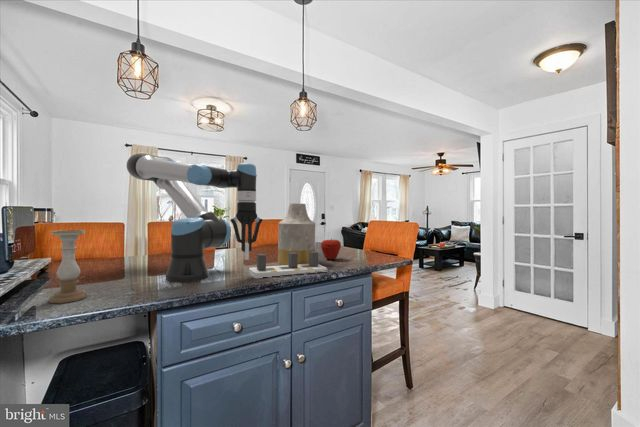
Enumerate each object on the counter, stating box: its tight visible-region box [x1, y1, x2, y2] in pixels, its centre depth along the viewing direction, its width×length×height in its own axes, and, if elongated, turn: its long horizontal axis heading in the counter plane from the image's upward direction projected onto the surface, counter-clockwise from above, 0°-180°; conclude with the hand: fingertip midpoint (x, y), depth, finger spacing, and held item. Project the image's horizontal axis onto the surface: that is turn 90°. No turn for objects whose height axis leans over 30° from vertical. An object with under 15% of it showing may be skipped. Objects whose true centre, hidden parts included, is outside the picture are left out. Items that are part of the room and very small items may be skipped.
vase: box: [277, 202, 316, 266], centre depth 149 cm, size 18×18×30 cm
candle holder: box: [48, 229, 88, 304], centre depth 88 cm, size 9×9×20 cm
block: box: [256, 253, 267, 270], centre depth 124 cm, size 3×4×6 cm
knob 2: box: [288, 252, 298, 268], centre depth 130 cm, size 3×4×6 cm
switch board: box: [248, 263, 328, 279], centre depth 130 cm, size 32×12×2 cm, turn 115°
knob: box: [309, 250, 319, 266], centre depth 135 cm, size 3×4×6 cm
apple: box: [320, 238, 342, 260], centre depth 163 cm, size 11×11×12 cm
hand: (246, 259), depth 122 cm, fingers closed
